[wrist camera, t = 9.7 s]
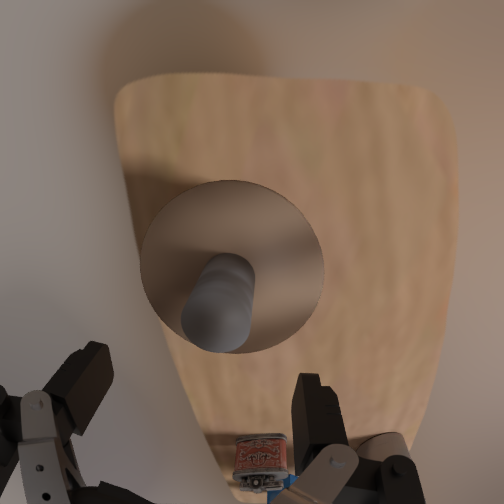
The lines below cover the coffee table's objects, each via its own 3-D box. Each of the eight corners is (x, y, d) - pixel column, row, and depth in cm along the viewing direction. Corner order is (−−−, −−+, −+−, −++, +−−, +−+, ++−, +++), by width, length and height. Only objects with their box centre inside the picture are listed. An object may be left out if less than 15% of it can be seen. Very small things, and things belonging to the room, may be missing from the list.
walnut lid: (351, 295, 22) (380, 351, 15) (213, 368, 25) (198, 429, 18) (256, 141, 19) (250, 136, 12) (114, 246, 22) (62, 283, 15)
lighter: (239, 446, 42) (234, 496, 33) (234, 435, 41) (228, 487, 32) (287, 442, 41) (290, 493, 32) (285, 431, 40) (287, 484, 31)
